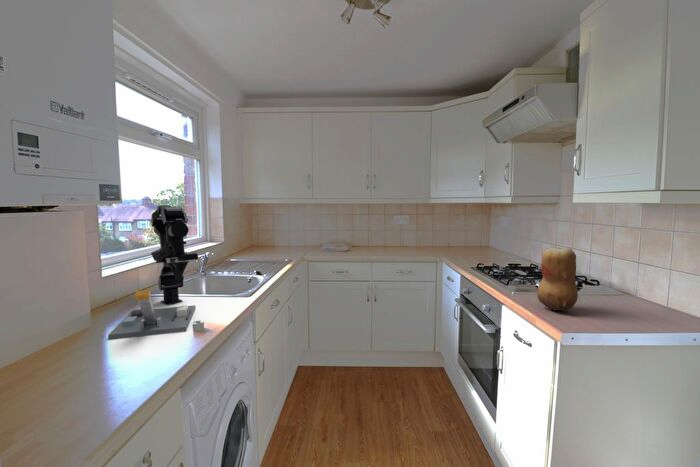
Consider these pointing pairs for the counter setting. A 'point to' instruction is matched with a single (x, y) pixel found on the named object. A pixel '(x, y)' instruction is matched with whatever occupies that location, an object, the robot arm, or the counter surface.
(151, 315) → the lever
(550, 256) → the butternut squash
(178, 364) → the counter surface
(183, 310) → the slider
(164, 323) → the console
